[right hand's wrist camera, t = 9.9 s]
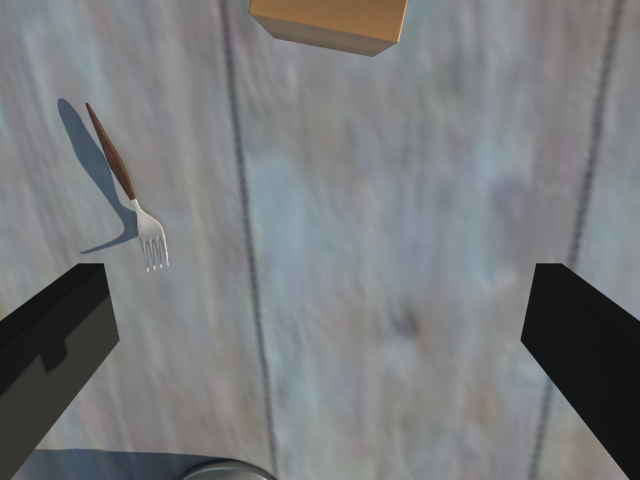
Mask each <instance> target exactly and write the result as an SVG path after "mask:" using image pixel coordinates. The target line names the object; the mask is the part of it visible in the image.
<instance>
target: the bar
mask: <svg viewBox="0 0 640 480" xmlns="http://www.w3.org/2000/svg"><path fill="white" fill-rule="evenodd" d="M407 1H408V0H250V4H249V14H250V15H251V16H252V17H253V18H254V19H255V20H256V21H257V22H258V23H259V24H260V25H261V26H262V27H263V28H264V29H265V30H266V31H268V32H269V33H270V34H271V35H272V36H273V37H274V38H276V39H281V40H287V41H292V42H297V43H302V44H307V45H313V46H318V47H323V48H328V49H334V50H339V51H344V52H349V53H354V54H360V55H365V56H370V57H374V56H376V55H377V54H379V53H381V52H382V51H384V50H386V49H388V48H389V47H391V46H393V45H394V44H396V43H398V42H399V38H400V33H401V29H402V24H403V20H404V15H405V10H406V6H407Z"/></svg>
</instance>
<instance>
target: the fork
mask: <svg viewBox="0 0 640 480" xmlns="http://www.w3.org/2000/svg"><path fill="white" fill-rule="evenodd" d="M86 107H87V109H88V112H89V115H90V117H91V120H92V123H93V125H94V128H95V130H96V132H97V135H98V138H99V140H100V143H101V145H102V148H103V151H104V153H105V156H106V158H107V161H108V163H109V165H110V167H111V169H112V171H113V173H114V175H115V176H116V178H117V179H118V181H119V183H120V184H121V186H122V188H123V189H124V191H125V192H126V194H127V195H128V197H129V199H130V200H131V202H132V204H133V205H134V207H135V209H136V213H137V231H138V236H139V239H140V242H141V245H142V248H143V252H144V257H145V262H146V267H147V271H149V269H148V259H147V251H146V243H148V245H149V248H150V253H151V257H152V262H153V267H154V270H155V262H154V253H153V245H152V242H153V241H154V242H155V244H156V248H157V253H158V257H159V262H160V267H161V268H162V264H161V254H160V247H159V239H161V241H162V244H163V248H164V252H165V257H166V261H167V266H169V265H168V256H167V248H166V241H165V235H164V231H163V228H162V226H161V225H160V223H159V222H158V221H156V220H155V219H154V218H152V217H151V216H149V215H148V214H146V213H145V212H143V211H142V210H141V209H140V207H139V205H138V203H137V200H136V197H135V194H134V192H133V189H132V186H131V183H130V180H129V177H128V174H127V172H126V169H125V167H124V164H123V162H122V160H121V158H120V157H119V155H118V153H117V151H116V150H115V148H114V147H113V145H112V143H111V142H110V140H109V138H108V137H107V135H106V133H105V131H104V129H103V128H102V126H101V124H100V122H99V121H98V119H97V117H96V115H95V113H94V112H93V110H92V108H91V107H90V105H89V104H88V103H86Z"/></svg>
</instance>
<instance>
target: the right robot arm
mask: <svg viewBox="0 0 640 480" xmlns="http://www.w3.org/2000/svg"><path fill="white" fill-rule="evenodd" d="M118 342H119V335H118V330H117V325H116V321H115V316H114V311H113V306H112V301H111V297H110V292H109V287H108V282H107V277H106V273H105V268H104V263H78V264H77V265H76V266H74V267H73V268H71V269H70V270H69V271H67V272H66V273H65V274H63V275H62V276H61V277H59V278H58V279H57V280H55V281H54V282H53V283H51V284H50V285H49V286H47V287H46V288H44V289H43V290H42V291H40V292H39V293H38V294H36V295H35V296H34V297H32V298H31V299H30V300H28V301H27V302H26V303H24V304H23V305H21V306H20V307H19V308H17V309H16V310H15V311H13V312H12V313H11V314H9V315H8V316H7V317H5V318H4V319H3V320H1V321H0V480H10V479H11V478H12V477H13V476H14V474H15V473H16V472H17V471H18V469H19V468H20V467H21V465H22V464H23V463H24V462H25V460H26V459H27V458H28V457H29V455H30V454H31V453H32V451H33V450H34V449H35V448H36V446H37V445H38V444H39V443H40V441H41V440H42V439H43V437H44V436H45V435H46V434H47V432H48V431H49V430H50V428H51V427H52V426H53V425H54V423H55V422H56V421H57V420H58V418H59V417H60V416H61V414H62V413H63V412H64V411H65V409H66V408H67V407H68V406H69V404H70V403H71V402H72V400H73V399H74V398H75V397H76V395H77V394H78V393H79V391H80V390H81V389H82V388H83V386H84V385H85V384H86V383H87V381H88V380H89V379H90V377H91V376H92V375H93V374H94V372H95V371H96V370H97V369H98V367H99V366H100V365H101V363H102V362H103V361H104V360H105V358H106V357H107V356H108V354H109V353H110V352H111V351H112V349H113V348H114V347H115V346H116V344H117V343H118ZM521 342H522V343H523V344H524V346H525V347H526V348H527V349H528V351H529V352H530V353H531V354H532V356H533V357H534V358H535V360H536V361H537V362H538V363H539V365H540V366H541V367H542V369H543V370H544V371H545V372H546V374H547V375H548V376H549V377H550V379H551V380H552V381H553V383H554V384H555V385H556V386H557V388H558V389H559V390H560V391H561V393H562V394H563V395H564V397H565V398H566V399H567V400H568V402H569V403H570V404H571V406H572V407H573V408H574V409H575V411H576V412H577V413H578V414H579V416H580V417H581V418H582V420H583V421H584V422H585V423H586V425H587V426H588V427H589V428H590V430H591V431H592V432H593V434H594V435H595V436H596V437H597V439H598V440H599V441H600V443H601V444H602V445H603V446H604V448H605V449H606V450H607V451H608V453H609V454H610V455H611V457H612V458H613V459H614V460H615V462H616V463H617V464H618V465H619V467H620V468H621V469H622V471H623V472H624V473H625V474H626V476H627V477H628V478H629V480H640V321H639V320H637V319H636V318H635V317H633V316H632V315H631V314H629V313H628V312H627V311H625V310H624V309H623V308H621V307H620V306H619V305H617V304H616V303H614V302H613V301H612V300H610V299H609V298H608V297H606V296H605V295H604V294H602V293H601V292H600V291H598V290H597V289H596V288H594V287H593V286H591V285H590V284H589V283H587V282H586V281H585V280H583V279H582V278H581V277H579V276H578V275H577V274H575V273H574V272H573V271H571V270H570V269H569V268H567V267H566V266H564V265H563V264H562V263H536V268H535V273H534V277H533V282H532V287H531V292H530V297H529V301H528V306H527V311H526V316H525V321H524V325H523V330H522V335H521ZM178 480H276V479H275V478H274V477H273V476H272V475H270V474H269V473H268V472H266V471H264V470H263V469H261V468H259V467H256V466H254V465H251V464H248V463H244V462H239V461H231V460H219V461H211V462H206V463H203V464H200V465H197V466H195V467H193V468H191V469H189V470H188V471H186V472H185V473H184V474H183V475H182V476H181V477H180V478H179V479H178Z"/></svg>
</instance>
